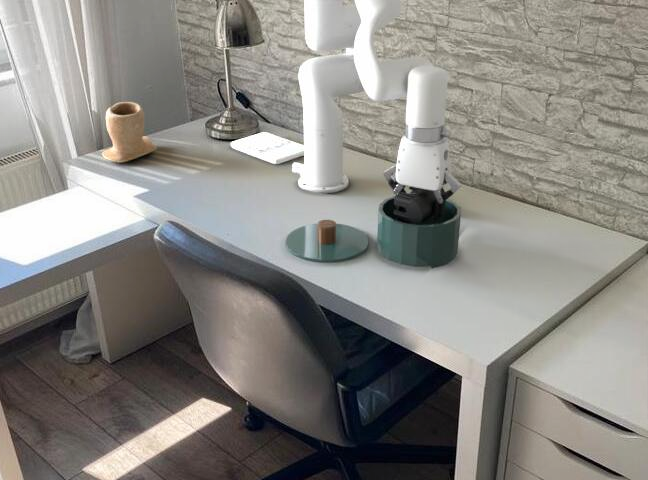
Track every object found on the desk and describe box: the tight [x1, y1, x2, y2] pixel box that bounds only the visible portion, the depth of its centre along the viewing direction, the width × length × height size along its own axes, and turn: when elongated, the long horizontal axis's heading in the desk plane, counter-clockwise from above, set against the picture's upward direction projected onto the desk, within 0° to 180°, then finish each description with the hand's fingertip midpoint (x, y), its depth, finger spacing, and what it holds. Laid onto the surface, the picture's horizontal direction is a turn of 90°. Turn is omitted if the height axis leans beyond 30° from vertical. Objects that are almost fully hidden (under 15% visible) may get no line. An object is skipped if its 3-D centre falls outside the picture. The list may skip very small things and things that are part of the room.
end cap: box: [393, 186, 446, 225], centre depth 163 cm, size 10×7×7 cm
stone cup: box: [101, 101, 157, 163], centre depth 215 cm, size 15×12×15 cm
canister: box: [376, 192, 462, 269], centre depth 166 cm, size 17×17×10 cm
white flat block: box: [230, 131, 304, 165], centre depth 222 cm, size 13×20×2 cm, turn 44°
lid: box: [284, 219, 369, 263], centre depth 170 cm, size 18×18×5 cm
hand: (419, 214), depth 164 cm, fingers closed on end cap, 7 cm apart
